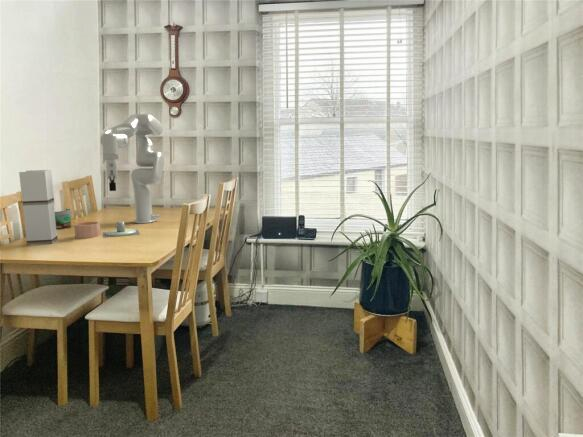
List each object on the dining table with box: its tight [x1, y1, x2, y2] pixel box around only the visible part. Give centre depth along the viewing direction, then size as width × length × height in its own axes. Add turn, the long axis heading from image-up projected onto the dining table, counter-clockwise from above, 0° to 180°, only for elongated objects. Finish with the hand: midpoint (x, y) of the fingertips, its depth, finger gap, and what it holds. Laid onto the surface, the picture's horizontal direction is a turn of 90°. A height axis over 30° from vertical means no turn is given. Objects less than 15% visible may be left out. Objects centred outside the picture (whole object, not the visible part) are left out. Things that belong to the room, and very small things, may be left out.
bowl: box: [74, 221, 102, 239], centre depth 270 cm, size 12×12×7 cm
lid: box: [105, 221, 137, 237], centre depth 274 cm, size 15×15×6 cm
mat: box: [102, 229, 141, 239], centre depth 275 cm, size 18×16×1 cm
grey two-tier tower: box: [18, 169, 59, 246], centre depth 257 cm, size 11×11×35 cm
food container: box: [55, 208, 72, 230], centre depth 299 cm, size 12×6×10 cm, turn 168°
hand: (112, 190), depth 277 cm, fingers open, 9 cm apart
